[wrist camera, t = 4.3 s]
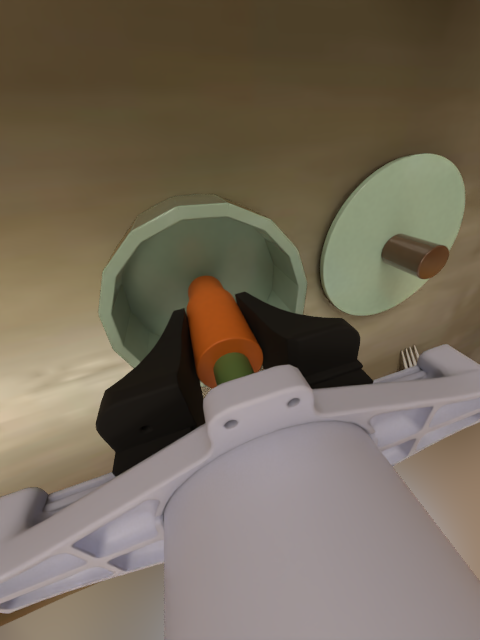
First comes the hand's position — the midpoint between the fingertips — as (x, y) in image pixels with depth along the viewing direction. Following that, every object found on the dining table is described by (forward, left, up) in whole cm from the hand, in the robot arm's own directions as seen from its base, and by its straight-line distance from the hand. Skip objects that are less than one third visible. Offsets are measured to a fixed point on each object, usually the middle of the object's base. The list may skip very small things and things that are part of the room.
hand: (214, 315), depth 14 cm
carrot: (0, 0, -3) cm, 3 cm away
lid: (-13, -7, -4) cm, 16 cm away
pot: (0, 0, -4) cm, 4 cm away
